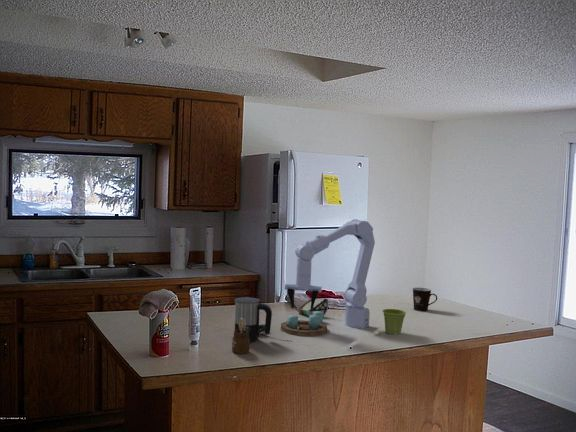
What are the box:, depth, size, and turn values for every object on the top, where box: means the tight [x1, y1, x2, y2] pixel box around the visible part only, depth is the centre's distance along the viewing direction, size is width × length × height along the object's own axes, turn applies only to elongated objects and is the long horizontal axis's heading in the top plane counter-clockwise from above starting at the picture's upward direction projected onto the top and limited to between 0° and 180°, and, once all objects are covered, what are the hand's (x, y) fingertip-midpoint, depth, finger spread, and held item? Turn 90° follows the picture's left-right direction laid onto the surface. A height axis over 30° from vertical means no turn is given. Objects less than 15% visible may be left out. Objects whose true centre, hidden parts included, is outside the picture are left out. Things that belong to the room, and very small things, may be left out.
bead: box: [287, 314, 299, 330], centre depth 238 cm, size 4×4×5 cm
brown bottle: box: [231, 319, 251, 355], centre depth 208 cm, size 6×6×12 cm
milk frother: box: [233, 297, 273, 343], centre depth 228 cm, size 14×16×15 cm
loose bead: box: [313, 311, 324, 324], centre depth 253 cm, size 4×4×5 cm
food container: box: [296, 297, 329, 317], centre depth 266 cm, size 12×6×10 cm
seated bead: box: [308, 315, 319, 330], centre depth 240 cm, size 4×4×5 cm
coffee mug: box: [412, 286, 438, 312], centre depth 290 cm, size 12×9×10 cm
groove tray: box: [280, 319, 328, 337], centre depth 238 cm, size 18×18×2 cm
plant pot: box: [382, 308, 407, 335], centre depth 244 cm, size 9×9×9 cm
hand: (302, 308), depth 243 cm, fingers open, 7 cm apart
